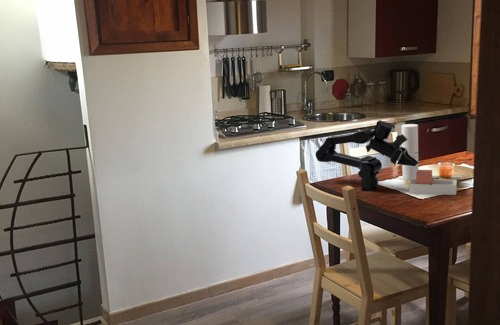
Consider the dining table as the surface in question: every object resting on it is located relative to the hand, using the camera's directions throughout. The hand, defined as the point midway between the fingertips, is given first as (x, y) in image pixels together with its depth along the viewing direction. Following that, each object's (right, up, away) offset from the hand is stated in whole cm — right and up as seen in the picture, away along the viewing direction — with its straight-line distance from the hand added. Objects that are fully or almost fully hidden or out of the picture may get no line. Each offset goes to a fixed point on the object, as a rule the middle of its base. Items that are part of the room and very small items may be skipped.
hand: (417, 164), depth 219 cm
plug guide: (+7, -11, +3) cm, 14 cm away
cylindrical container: (+5, -7, +24) cm, 25 cm away
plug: (+4, -11, +4) cm, 13 cm away
